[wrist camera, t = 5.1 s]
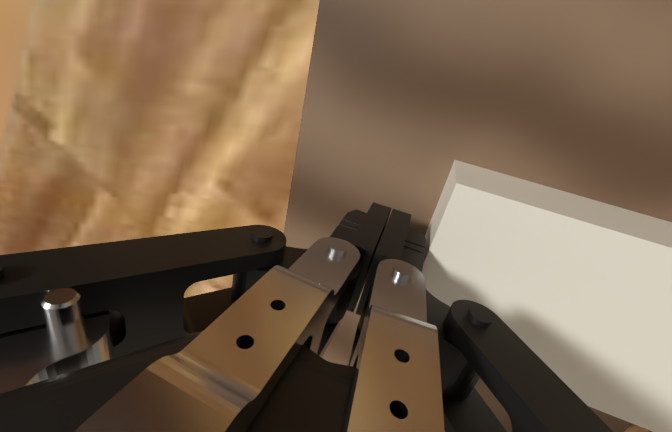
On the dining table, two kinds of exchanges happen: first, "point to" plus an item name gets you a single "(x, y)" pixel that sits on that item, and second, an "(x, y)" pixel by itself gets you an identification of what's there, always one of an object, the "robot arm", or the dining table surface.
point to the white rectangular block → (563, 284)
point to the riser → (481, 112)
